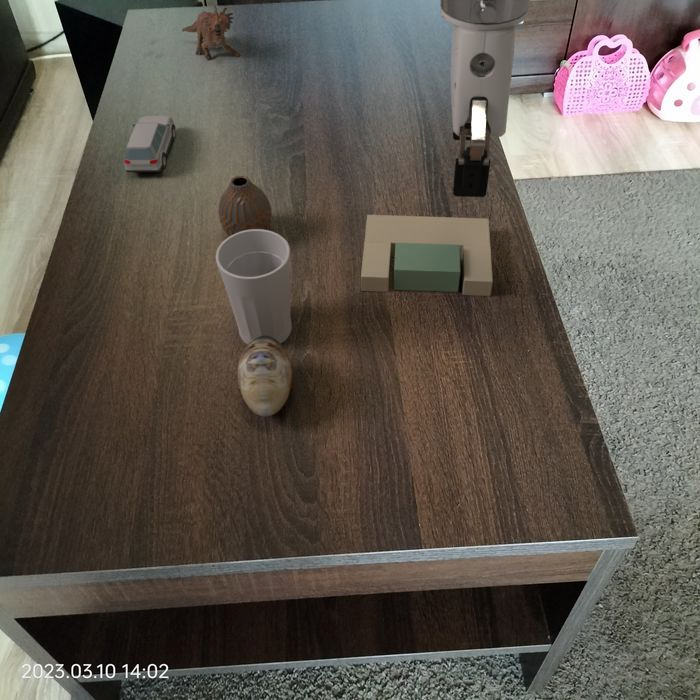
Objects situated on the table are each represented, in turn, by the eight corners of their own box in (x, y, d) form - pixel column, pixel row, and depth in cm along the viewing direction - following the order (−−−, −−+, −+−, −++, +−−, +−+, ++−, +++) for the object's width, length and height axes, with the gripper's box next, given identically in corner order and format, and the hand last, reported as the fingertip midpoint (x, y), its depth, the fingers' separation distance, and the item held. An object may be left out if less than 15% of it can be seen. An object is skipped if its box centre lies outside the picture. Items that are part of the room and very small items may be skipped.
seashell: (295, 429, 77) (288, 382, 71) (241, 433, 77) (230, 386, 71) (293, 361, 84) (287, 313, 78) (244, 364, 83) (233, 316, 77)
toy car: (179, 130, 116) (173, 101, 112) (163, 179, 107) (156, 150, 103) (144, 130, 116) (136, 102, 112) (125, 179, 107) (116, 150, 104)
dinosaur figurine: (250, 60, 130) (243, 7, 123) (223, 71, 127) (214, 19, 120) (207, 34, 137) (198, -17, 130) (180, 45, 134) (170, -7, 127)
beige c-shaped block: (486, 233, 97) (488, 218, 96) (490, 296, 90) (492, 281, 88) (367, 229, 99) (367, 214, 97) (361, 291, 91) (360, 276, 89)
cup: (307, 341, 86) (300, 266, 76) (242, 361, 84) (226, 287, 75) (286, 297, 90) (276, 221, 81) (224, 315, 89) (207, 240, 80)
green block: (457, 265, 94) (459, 244, 91) (458, 292, 90) (460, 271, 88) (395, 263, 94) (395, 242, 91) (393, 290, 91) (394, 269, 88)
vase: (252, 211, 102) (244, 158, 95) (284, 234, 98) (278, 180, 92) (213, 234, 99) (201, 181, 92) (245, 258, 95) (235, 205, 89)
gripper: (538, 42, 55) (510, 220, 68) (523, -47, 67) (501, 120, 80) (439, 41, 56) (430, 218, 69) (441, -47, 67) (432, 119, 80)
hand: (468, 165), depth 74 cm, fingers open, 9 cm apart
